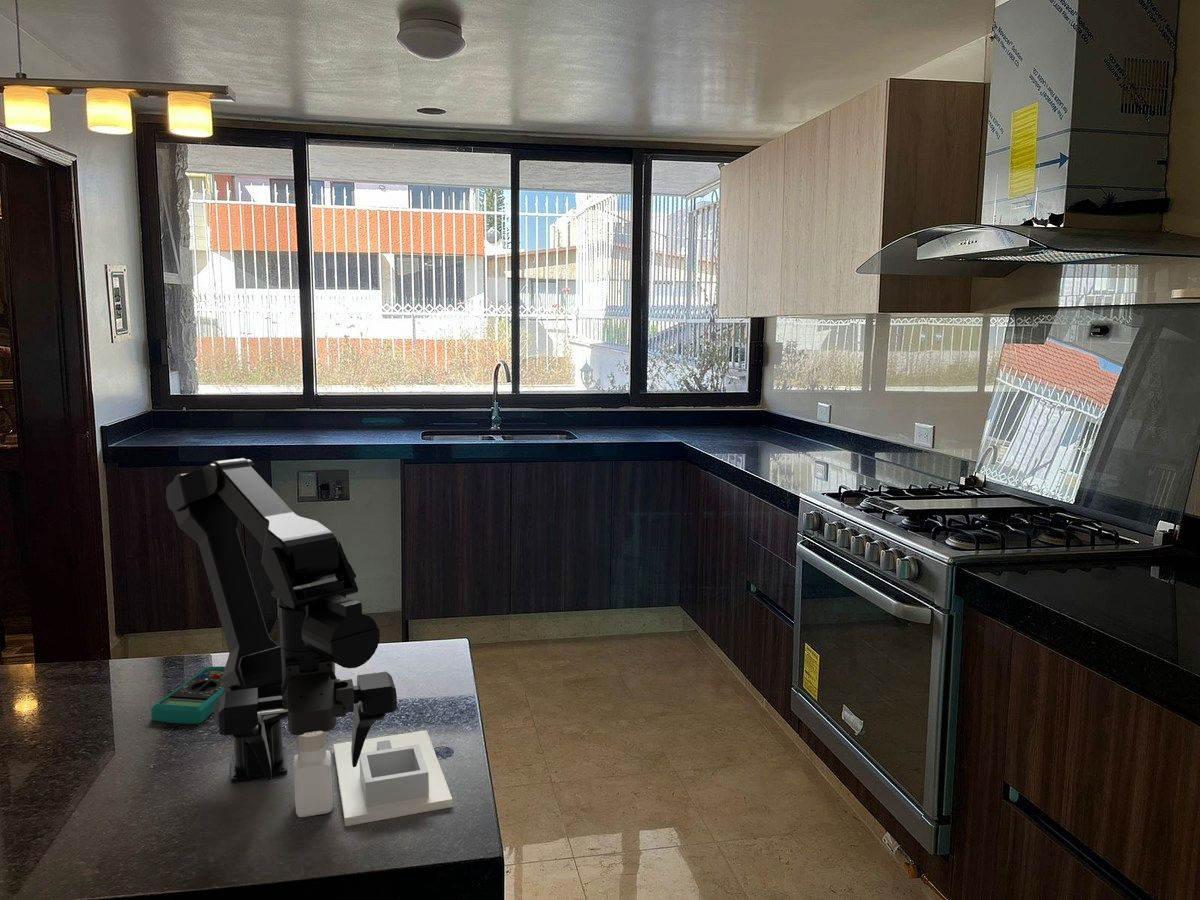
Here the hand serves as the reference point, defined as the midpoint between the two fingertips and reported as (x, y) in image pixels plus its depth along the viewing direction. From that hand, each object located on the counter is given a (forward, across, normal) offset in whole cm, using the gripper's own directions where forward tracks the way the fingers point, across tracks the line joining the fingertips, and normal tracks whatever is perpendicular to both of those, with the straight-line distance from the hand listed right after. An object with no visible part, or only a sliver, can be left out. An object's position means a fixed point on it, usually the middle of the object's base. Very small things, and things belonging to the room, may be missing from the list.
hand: (312, 772), depth 102 cm
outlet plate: (+4, +9, +4) cm, 11 cm away
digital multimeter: (+5, -14, +35) cm, 38 cm away
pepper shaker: (+5, 0, 0) cm, 5 cm away
